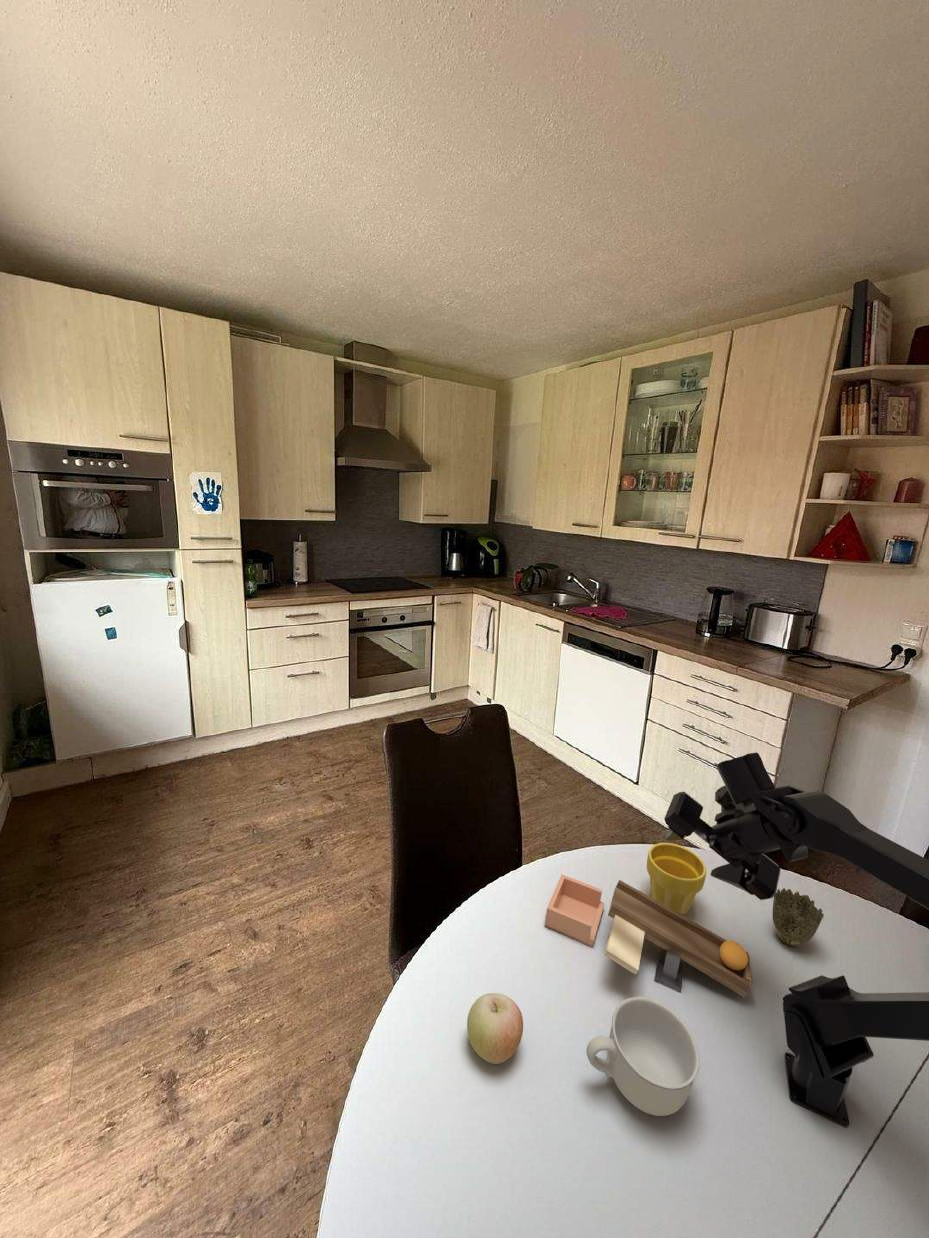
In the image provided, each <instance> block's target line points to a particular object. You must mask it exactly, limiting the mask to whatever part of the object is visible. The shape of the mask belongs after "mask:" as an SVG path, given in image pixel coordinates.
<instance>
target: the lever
mask: <svg viewBox="0 0 929 1238" xmlns="http://www.w3.org/2000/svg"><path fill="white" fill-rule="evenodd" d="M613 891H614V892H613V895H612V899H611V902H610V906H609V909H608V913H607V916H608V917H609V918H611V919H613V920H612V924H611V927H610V931H609V935H608V938H607V939H608V940H607V943H606V947H605V951H604V956H605V957H607V958H608V959H610V960H612V961H613V962H615V963H616V964H618V965H620V966H621V967H623V968H624V969H626V970H627V971H628V972H630V973H632V974H634V975H637V973H638V972H639V969H640V962H641V957H642V952H643V951H642V950H643V945H644V940H645V939H646V940H648V941H650V942H652V943H653V944H655V945H656V946H658V947H659V946H660V947H661V948H663V949H665V950H667V949H669V950H671V951H673V952H676V953H678V954H680V959H682V960H683V961H684V963H686V964H688V965H690V966H691V967H694V968H695V969H697V970H699V971H700V972H702V973H703V974H705V975H707V976H708V977H709V978H711V979H714V980H715V981H717V982H718V983H720V984H722V985H723V986H725V987H727V988H729V990H732V991H734V992H735V993H737V994H738V995H741V996H742V997H743V998H744V997H746V996H747V994H748V992H749V991H750V989H751V988H752V987H751V984H752V982H753V981H752V969H751V957H750V953H749V952H748V951H746V953H747V957H748V962H747V965H746V966H745V968H744V969H742V970H732V969H730V968H728V967H727V966H726V965H725V964H724V963H723V961H722V960H721V957H720V947H721V945H722V944H723V943H724V942H725V941H728V940H727V939H726V938H724V937H722V936H720V935H718V934H716V933H714V932H712V931H711V930H709V929H707V927H704V926H703V925H700V923H699V924H698V923H697V922H695V921H693V920H691V919H689V917H686V916H685V915H684V916H683V915H681V914H679V913H677V912H676V911H674V910H672V909H670V908H669V907H667V906H665V905H663V904H662V903H660V902H658V901H656V900H654V899H653V898H651V896H649V895H647V894H646V893H644V892H642V891H640V890H639V889H637V888H635V887H633V886H631V885H630V884H629V883H627V882H624V881H622V880H620V879H619V880H618V881H617V883H616V886H615V888H614V890H613Z"/></svg>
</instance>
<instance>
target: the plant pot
mask: <svg viewBox="0 0 929 1238" xmlns="http://www.w3.org/2000/svg"><path fill="white" fill-rule="evenodd" d="M646 871H647V874H648V876H649V882H650V883H649V884H650V885H649V886H650V897H651V898H653V899H654V900H656V901H658V902H660V903H662V904H663V905H665V906H667V907H669V908H670V909H672V910H674V911H676V912H678V913H681V914H684V916H685V915H686V914H687V913H688V911H689V910H690V908H691V905H692V903H693V901H694V899H695V897H696V895H697V894H699V893H700V892H701V891H702V890H703V888H704V885H705V882H706V877H707V876H706V875H707V867H706V864H705V863H704V861H703V860H702V858H701V857H700V856H699V855H697V854H696V853H695V852H694V851H692V850H690V849H688V848H687V847H685V846H682V845H680V844H676V843H671V842H659V843H656V844H653V845H652V846H650V848H649V850H648V853H647V858H646Z"/></svg>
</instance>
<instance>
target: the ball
mask: <svg viewBox="0 0 929 1238" xmlns="http://www.w3.org/2000/svg"><path fill="white" fill-rule="evenodd" d="M746 952H747V951H746V950H745V948H744V947H743V945H741V944H740V943H739V942H737V941H734V940H727V941H725V942H724V943H723V944H722V945H721V947H720V957H721V960H722V961H723V963H724V964H725V965H726V966H727V967H728V968H730V969H732V970H742V969H744V968H745V966H746V965H747V962H748V957H747V953H746Z"/></svg>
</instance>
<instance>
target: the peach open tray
mask: <svg viewBox="0 0 929 1238" xmlns="http://www.w3.org/2000/svg"><path fill="white" fill-rule="evenodd" d="M555 886H556V887H555V889H554V891H553V894H552V896H551V898H550V901H549V902H548V905H547V907H546V913H545V920H544V928H547V929H548V930H551V931H553V932H556V933H558V934H560V935H562V936H564V937H567V938H569V939H572V940H573V941H576V942H578V943H580V944H583V945H585V946H588V947H589V948H593V949H594V944H595V941H596V937H597V934H598V930H599V926H600V924H601V919H602V916H603V912H604V910H605V902H604V901H602V895H603V894H602V892H603V889H601V888H598V887H596V886H594V885H591V884H588V883H585V882H584V881H580V880H579V879H578V880H577V879H576V878H572V877H569V876H568V875H565V874H561V875H560V877H559V879H558V881H557V884H556V885H555Z"/></svg>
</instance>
